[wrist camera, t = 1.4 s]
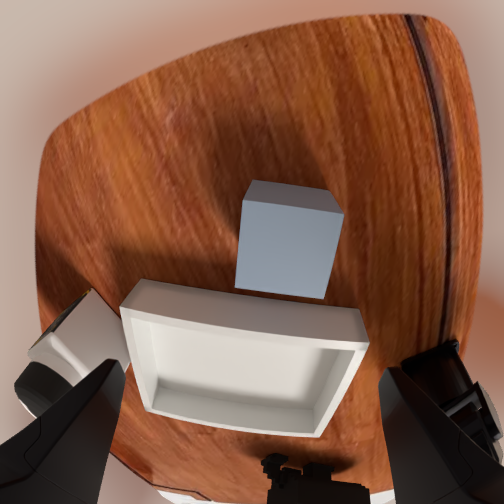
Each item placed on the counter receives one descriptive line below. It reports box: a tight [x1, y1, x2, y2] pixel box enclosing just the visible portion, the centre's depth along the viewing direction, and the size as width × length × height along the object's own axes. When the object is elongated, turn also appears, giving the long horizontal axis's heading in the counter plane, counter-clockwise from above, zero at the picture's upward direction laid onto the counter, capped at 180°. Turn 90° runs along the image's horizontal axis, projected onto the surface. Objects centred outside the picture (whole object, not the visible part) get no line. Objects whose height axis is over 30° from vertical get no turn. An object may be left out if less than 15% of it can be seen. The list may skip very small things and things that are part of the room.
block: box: [235, 180, 344, 299], centre depth 17 cm, size 5×5×5 cm
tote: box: [119, 278, 370, 437], centre depth 23 cm, size 18×14×4 cm
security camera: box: [261, 453, 371, 504], centre depth 31 cm, size 7×18×10 cm, turn 58°
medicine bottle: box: [14, 288, 131, 418], centre depth 21 cm, size 7×7×12 cm
